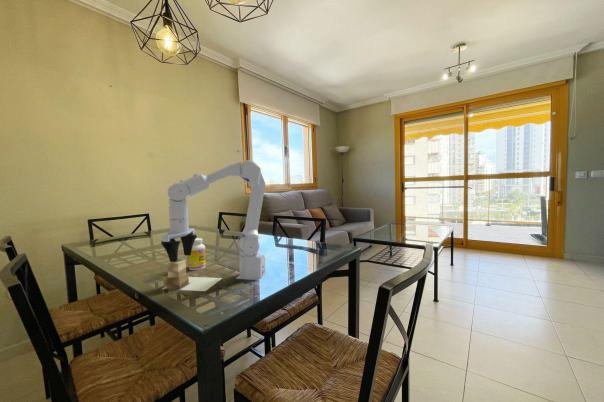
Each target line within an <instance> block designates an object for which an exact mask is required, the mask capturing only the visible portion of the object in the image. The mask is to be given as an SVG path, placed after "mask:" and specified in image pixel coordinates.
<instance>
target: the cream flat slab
mask: <svg viewBox="0 0 604 402" xmlns="http://www.w3.org/2000/svg"><path fill="white" fill-rule="evenodd" d="M222 279H223V277H205V276H204V277H201V276H189V284H187V285H186V286H184V287H182V288H181V289H171V290H175V291H178V290H179V291H196V292H206V291H208V290H209V289H210V288H211V287H213V286H214V285H215V284H217V283H218V282H220V281H221V280H222ZM161 290H169V289H168V288H166V286H164V287H162V288H161Z"/></svg>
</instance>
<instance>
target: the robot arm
mask: <svg viewBox="0 0 604 402" xmlns="http://www.w3.org/2000/svg"><path fill="white" fill-rule="evenodd" d="M230 176H231V177H239V178H241V179H243V180H244V181H246V183H247V184H248V185H249V186H250V188H251V190H250V195H249V199H248V200H249V201H248V206H247V213H246V218H245V223H244V224H245V225H244V228H243V230H242V234H241V236H240V238H238V242H237V243H238V247H239V248H240V251H239V253H238V254H239V255H238V258H239V262H238V263H239V275H238V276H237V277H235V279H236V280H239V279H240V280H241V279H242V280H251V281H253V280H254V281H255V280H257V281H260V280H261V279H262V278H263V277H264V276H265V275H266V274H267V272H266V256H265V255H264V253H263V254H262V253H259V250H260V243H259V232H258V231H259V225H260V218H261V212H262V207H263V202H264V195H265V190H266V182H265V180H264V176H263V173H262V168H261V167H260V166H259V165H258V164H257V163H256V161H254V160H252V159H247V160H245V161H243V162H242V161H240V162H235V163H233V164H229V165H227V166H225V167H223V168H220V169H218V170H216V171H213V172H212V173H210V174H207V175H205V174H202V173H199V174H198V173H194V174H193V175H192V177H189V178H186V179H184V180H183V179H180V180H179V182H176V183H173V184H171V185H170V186H169V187H168V189H167V196H168V197H169V200H168V204H169V206H168V213H169V215H168V216H169V231H167V233H165V234H164V235H162V236H161V239H162V240H161V242H160V244H161V245H162V247H163V248H164V250H165V251H166V254H167V256H168V259H169V262H176V261H177V260H178V257H179V256H178V255H179V254H178V253H179V246H180V243H181V244H182V248H183V249H182V250H183V255H184V256H188V257H189V256H190V255H191V252H192V247H193V244H194V241H195V239H196V238H198V237H197V234H195V233H196V232H195V228H191V227H190V226H189V212H188V211H189V210H188V209H189V208H188V203H187V196H189V197H192V196H194V195H196V194H199V193H201V192H203V191H206V190H208V189H209V187H210V185H211V184H212V183H215V182H217V181H220V180H223V179H225V178H228V177H230ZM177 239H180V240H177Z"/></svg>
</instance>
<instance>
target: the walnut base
mask: <svg viewBox="0 0 604 402" xmlns="http://www.w3.org/2000/svg"><path fill="white" fill-rule="evenodd" d="M189 277H190V276H189V273H186V275H184V276H182V277H180V278H168V276H167V277H166V278H165V287H166V288H168V289H167V290H172V289H181V288H182V287H184V286H186V285H187V284H189Z"/></svg>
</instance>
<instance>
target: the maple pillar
mask: <svg viewBox="0 0 604 402" xmlns="http://www.w3.org/2000/svg"><path fill="white" fill-rule="evenodd" d="M186 263H187V261H186V260H185V259H177V261H176V262H170V261H169V262H167V263H166V265H167V277H168V278H180V277H182V276H184V275H186V274H187V264H186Z"/></svg>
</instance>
